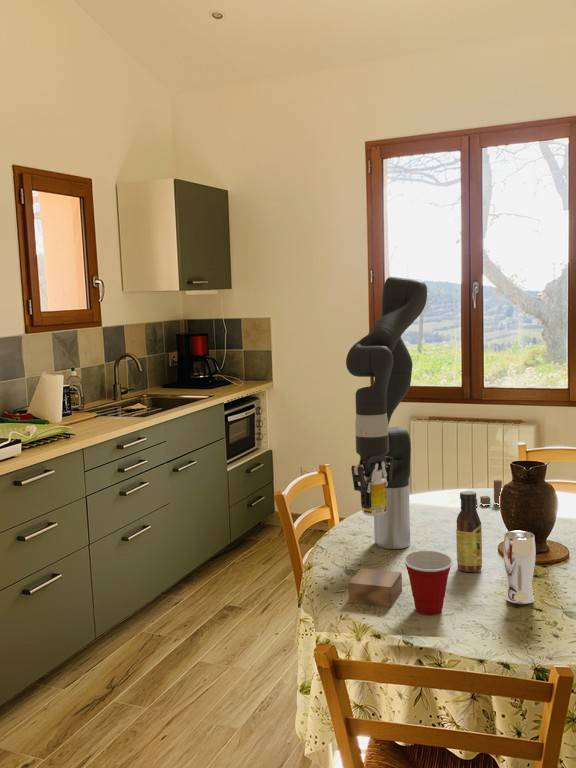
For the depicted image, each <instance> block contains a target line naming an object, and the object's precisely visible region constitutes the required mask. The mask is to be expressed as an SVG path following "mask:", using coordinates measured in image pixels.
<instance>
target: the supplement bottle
mask: <svg viewBox="0 0 576 768" xmlns="http://www.w3.org/2000/svg"><path fill="white" fill-rule="evenodd" d="M364 478H368V479H369V478H370V477H366V476H364ZM365 485H366V487H367V482H365ZM370 492H371V508H369V509H366V508H361V509H362V510H361V511H362V513H363V514H364V515H365V516H370V517H374V516H380V515H383V514H385V513H386V480H385V479H384V478H383V477H382V470H377V471H376V475H375V480H374V483H372V486H371V491H370Z"/></svg>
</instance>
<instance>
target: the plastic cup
mask: <svg viewBox="0 0 576 768" xmlns="http://www.w3.org/2000/svg"><path fill="white" fill-rule="evenodd" d="M402 558H403V563H404V565H405V567H406V570H407V574H408V577H409V584H410V589H411V594H412V598H413V603H414V608H415V611H416V612H417V613H418V614H421V615H426V616H434V615H438V614H441V612H442V611H443V607H444V603H445V597H446V591H447V584H448V578H449V574H450V571H451V567H452V565H454V564H453V563H454V561H453V558H452V557H451V556H450V555H448V554H446V553H444V552H441V551H437V550H436V551H435V550H425V549H424V550H417V551H411V552H409V553H407V554H405V555H404V556H403V557H402Z"/></svg>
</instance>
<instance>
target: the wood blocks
mask: <svg viewBox="0 0 576 768" xmlns="http://www.w3.org/2000/svg"><path fill="white" fill-rule="evenodd" d="M501 488H502V489H503V481H502V479H494V480H493V503H494V502H495V503H498V504H499V496H500V492H501ZM480 503H482V504H490V505H491V497H490V496H489V495H482V496H480ZM476 505H477V506H478V498H476Z"/></svg>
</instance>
